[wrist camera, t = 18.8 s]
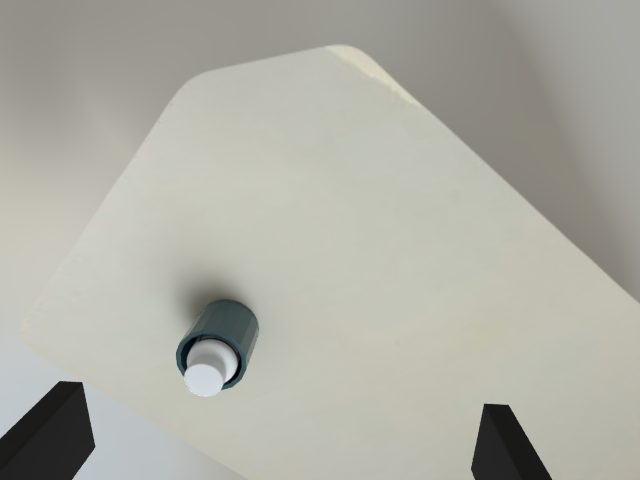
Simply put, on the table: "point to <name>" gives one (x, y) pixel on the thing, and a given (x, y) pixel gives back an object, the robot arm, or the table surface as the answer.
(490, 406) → the robot arm
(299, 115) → the table surface
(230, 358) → the pill bottle
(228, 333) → the cup
